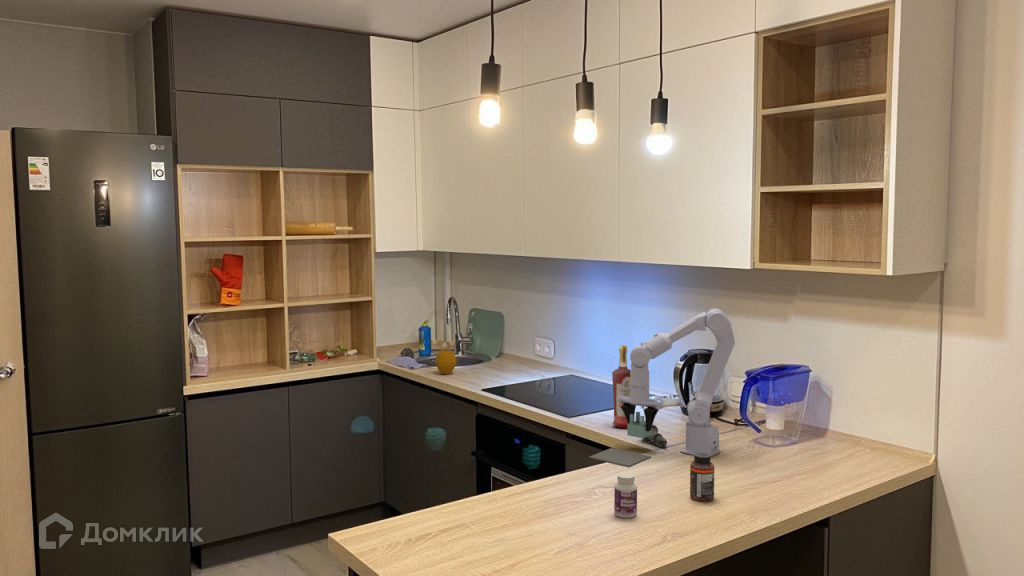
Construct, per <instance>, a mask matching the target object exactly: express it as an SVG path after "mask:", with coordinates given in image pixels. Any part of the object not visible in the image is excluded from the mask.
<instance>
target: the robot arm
mask: <svg viewBox="0 0 1024 576" xmlns="http://www.w3.org/2000/svg"><path fill="white" fill-rule="evenodd" d="M707 328H708V329H709V330H710V332H711V333H712V334H713V336H714V338H715V340H716V342H717V343H716V345H715V348H714V350H713V352H712V354H711V357H710V360H709V363H708V365H707V367H706V369H705V373H704V375H703V377H702V379H701V382H700V385H699V387H698V389H697V391H696V393H695V394H694V397H693V398H692V399H690V400H689V401H688V403H687V405H686V411H687V416H688V418H687V419H686V420H685V448H683V449H681V450H679V452H680V453H682V454H683V453H684V454H688V455H693V456H694V454H695V453H708V454H710V456H711V457H712V456H715V455H716V454H719V453H720V452H721V451H720V431H719V428H718V427H717V426H716V425H713V424H711V421H710V418H711V414H710V409H711V406H712V403H713V398H714V395H715V392H716V391H717V388H718V385H719V383H720V382H721V381H720V380H721V378H722V376H723V373H724V371H725V369H726V366H727V363H728V361H729V358H730V356H731V354H732V351H733V349H734V347H735V345H736V344H735V343H736V342H735V341H736V340H735V336H734V332H733V328H732V323H731V321H730V319H729V318H728V316H727V315H726V314H725V312H724V311H723V310H722V309H720V308H717V307H712V308H709V309H707V311H706V312H705V311H703V312H701V313H699V314H697V315H695V316H693V317H691V318H690V319H688V320H686V321H685V322H683V323H682V324H681V325H679V326H678V327H676V328H674V329H673V330H671V331H669V332H668V333H665V332H660V333H658V332H655V333H654V334H653V336H652V337H651V338H649V339H648V340H646V341H641V342H640V343H639V344H640V345H636V346H634V347H633V348H632V349H631V351H630V354H629V357H630V362H631V364H630V370H631V371H630V389H631V397H624V396H620V397H618V403H620V404H621V403H623V406H621V409H622V410H623V412H624V414H625V416H626V419H627V423H628V424H629V423H630V414H634V416H636V408H637V407H644V409H643V412H644V413H643V414H644V421H646V431H651V429H652V425H654V421H655V418H656V416H657V414H658V412H659V411H660V410H661V409H663V401H658V400H654V399H650V369H649V363H650V360H654V359H656V358H658V357H659V356H661V355H663V354H665V353H666V352H668V351H670V350H671V349H672V348H673V344H674V343H675V342H677V341H678V340H680V339H682V338H684V337H686V336H688V335H690V334H692V333H693V332H695V331H700V332H701V331H702V332H706V331H707Z"/></svg>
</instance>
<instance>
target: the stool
mask: <svg viewBox="0 0 1024 576" xmlns="http://www.w3.org/2000/svg"><path fill="white" fill-rule="evenodd" d="M644 421H645V415H641V412H640V411H635V415H634V414H630V423H629V424H628V425H627V428H626V431H627V434H626V435H627V436H630V437H634V438H638V439H643V438H646V437H648V436H650V435H652V429H651V431H646V422H644ZM643 440H644V439H643Z"/></svg>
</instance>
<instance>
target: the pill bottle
mask: <svg viewBox="0 0 1024 576" xmlns="http://www.w3.org/2000/svg"><path fill="white" fill-rule="evenodd" d="M616 481H617V482H616V483H615V485H614V494H613V495H614V498H613V500H614V501H613V502H614V507H613V508H614V509H613V510H614V516H616V517H618V518H624V519H631V518H635V517H636V516H637V513H638V486H637V484H636V483H635V475H634V474H633V473H629V472H620V473H618V474H617V480H616Z"/></svg>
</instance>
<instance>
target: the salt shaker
mask: <svg viewBox="0 0 1024 576" xmlns="http://www.w3.org/2000/svg"><path fill="white" fill-rule="evenodd" d="M644 422H646V420H644ZM643 440H644V441H645V442H647V443H650V442H652V443H653V444H655V445H658V446H659V447H661V448H664V447H666V446H667V443H668V440H667V439H666V438H665V437H663V435H662V434H661V433H659V428H658V426H656V424H653V425H652V435H650V436H648V437H646V438H643Z"/></svg>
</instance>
